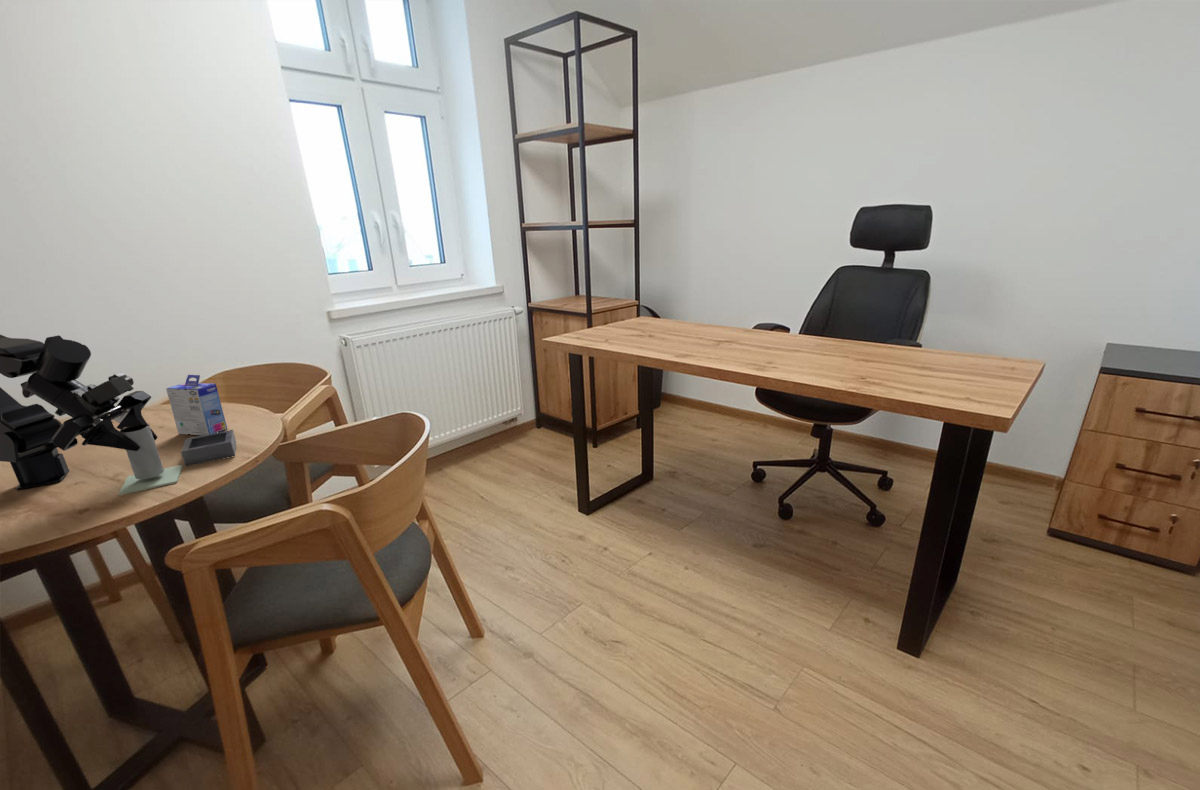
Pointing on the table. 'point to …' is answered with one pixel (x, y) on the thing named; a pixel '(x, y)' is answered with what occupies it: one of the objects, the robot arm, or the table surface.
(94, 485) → the table surface
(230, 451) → the collar
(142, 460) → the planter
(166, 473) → the mat
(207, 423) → the ink cartridge box
